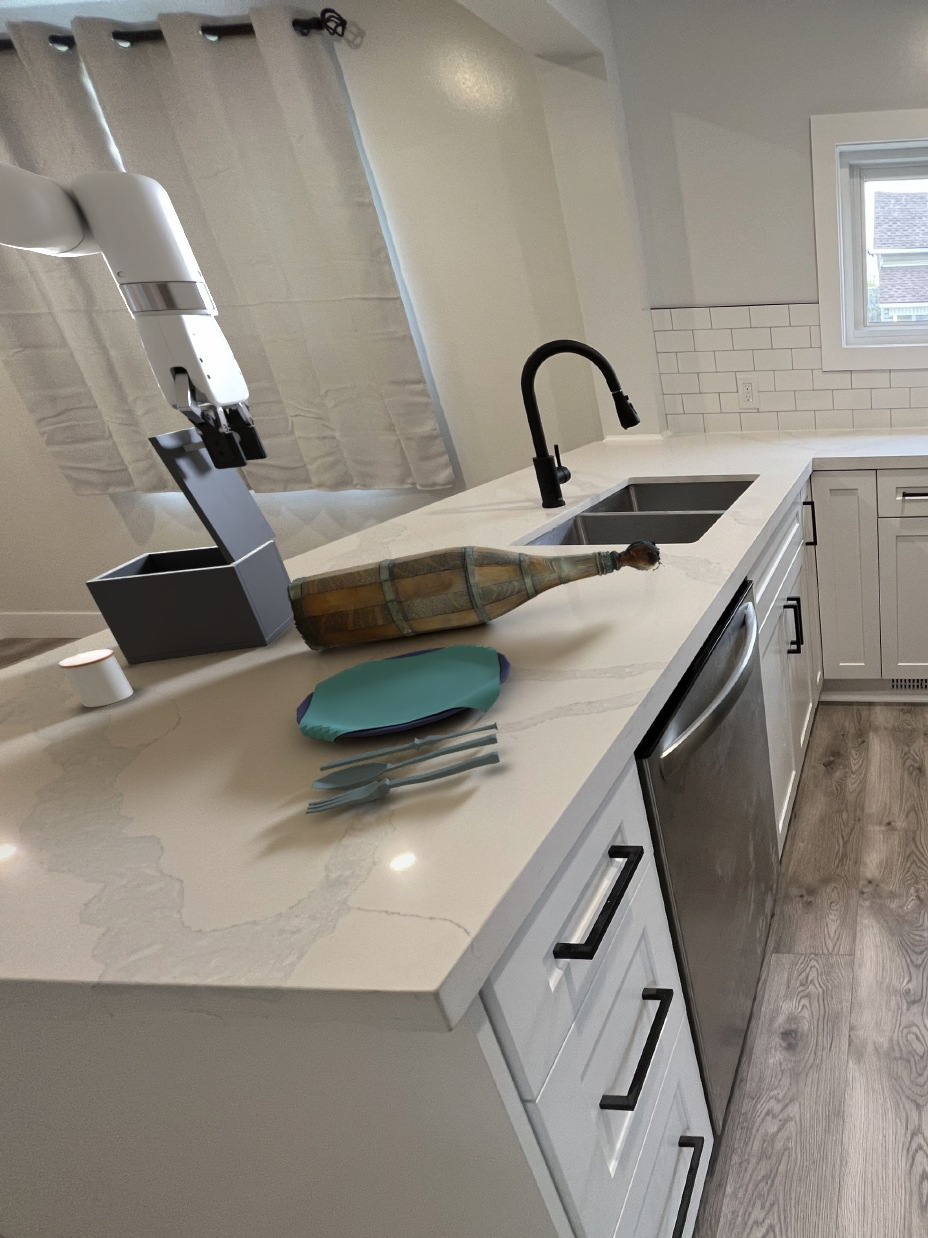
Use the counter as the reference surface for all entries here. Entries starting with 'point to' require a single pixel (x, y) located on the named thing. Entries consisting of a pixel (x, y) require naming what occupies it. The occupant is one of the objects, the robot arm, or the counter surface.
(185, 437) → the lid
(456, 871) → the counter surface
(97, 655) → the white cylinder
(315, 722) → the cutlery set
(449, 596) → the decorative bottle
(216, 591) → the dark grey lidded box
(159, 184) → the robot arm
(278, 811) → the counter surface
